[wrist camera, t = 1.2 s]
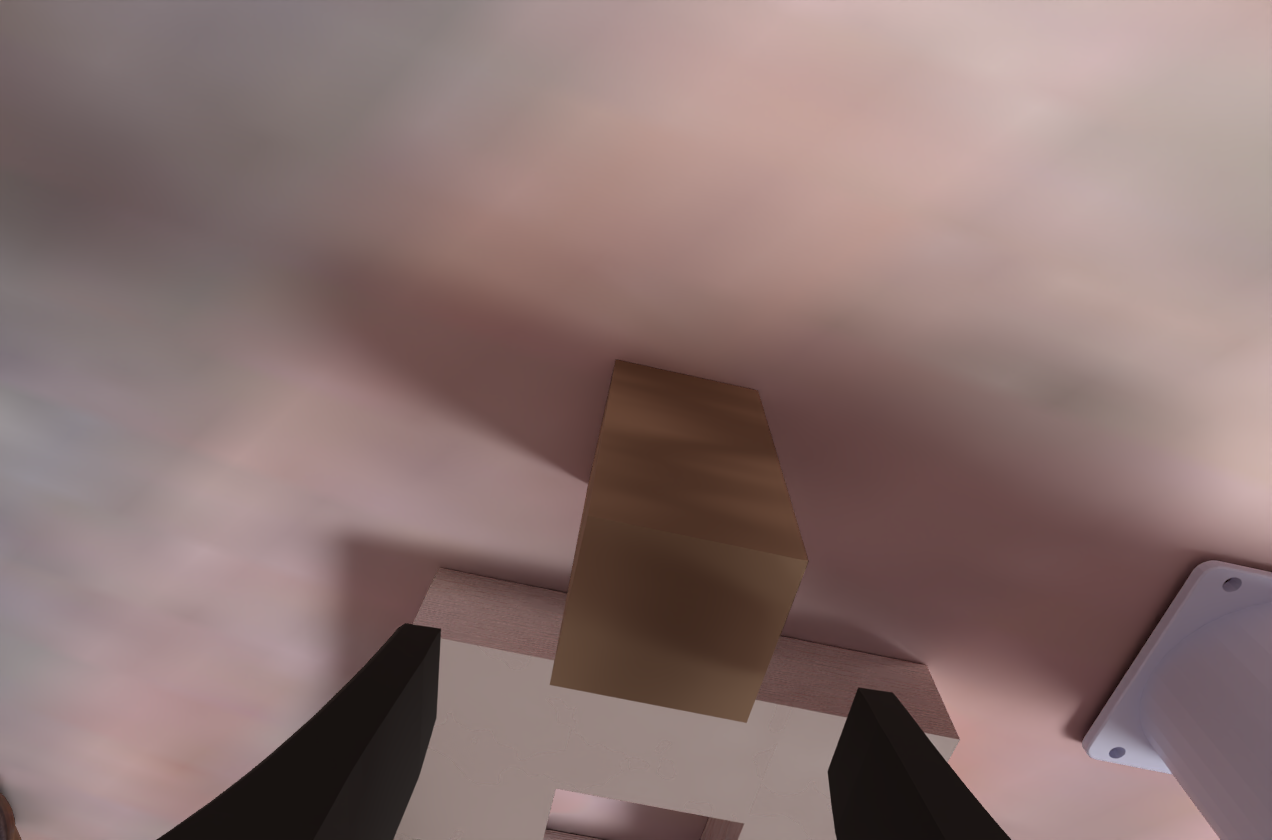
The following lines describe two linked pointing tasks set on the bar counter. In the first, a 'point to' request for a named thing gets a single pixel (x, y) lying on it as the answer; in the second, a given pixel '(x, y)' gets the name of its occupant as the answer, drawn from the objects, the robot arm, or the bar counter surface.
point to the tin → (7, 821)
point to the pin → (680, 549)
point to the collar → (628, 730)
